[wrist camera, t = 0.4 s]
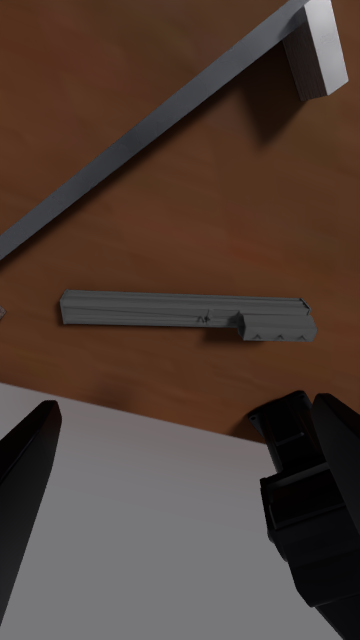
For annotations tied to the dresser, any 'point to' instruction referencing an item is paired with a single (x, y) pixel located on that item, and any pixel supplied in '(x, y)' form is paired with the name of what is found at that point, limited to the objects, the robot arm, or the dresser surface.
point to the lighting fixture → (194, 312)
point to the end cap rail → (307, 69)
